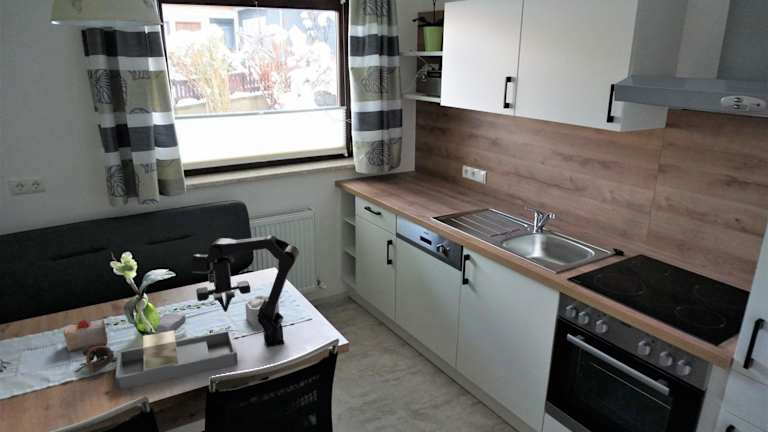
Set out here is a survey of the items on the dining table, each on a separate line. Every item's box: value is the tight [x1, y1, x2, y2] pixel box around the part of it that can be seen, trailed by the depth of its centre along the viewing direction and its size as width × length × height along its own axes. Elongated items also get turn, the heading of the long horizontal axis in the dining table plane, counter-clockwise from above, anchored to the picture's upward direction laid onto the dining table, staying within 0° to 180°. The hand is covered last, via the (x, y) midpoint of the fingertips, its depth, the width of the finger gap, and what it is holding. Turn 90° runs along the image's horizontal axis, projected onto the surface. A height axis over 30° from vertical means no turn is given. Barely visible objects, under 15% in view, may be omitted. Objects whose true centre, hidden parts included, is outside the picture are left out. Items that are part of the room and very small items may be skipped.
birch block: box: [142, 330, 178, 369], centre depth 177 cm, size 10×8×8 cm
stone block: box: [157, 312, 186, 333], centre depth 205 cm, size 12×5×10 cm
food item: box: [62, 318, 108, 353], centre depth 190 cm, size 14×8×10 cm, turn 116°
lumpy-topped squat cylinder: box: [245, 294, 280, 326], centre depth 211 cm, size 10×13×9 cm
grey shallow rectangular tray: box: [115, 329, 239, 391], centre depth 180 cm, size 38×17×4 cm, turn 114°
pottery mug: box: [81, 345, 115, 373], centre depth 179 cm, size 12×10×8 cm
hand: (225, 311), depth 192 cm, fingers closed
